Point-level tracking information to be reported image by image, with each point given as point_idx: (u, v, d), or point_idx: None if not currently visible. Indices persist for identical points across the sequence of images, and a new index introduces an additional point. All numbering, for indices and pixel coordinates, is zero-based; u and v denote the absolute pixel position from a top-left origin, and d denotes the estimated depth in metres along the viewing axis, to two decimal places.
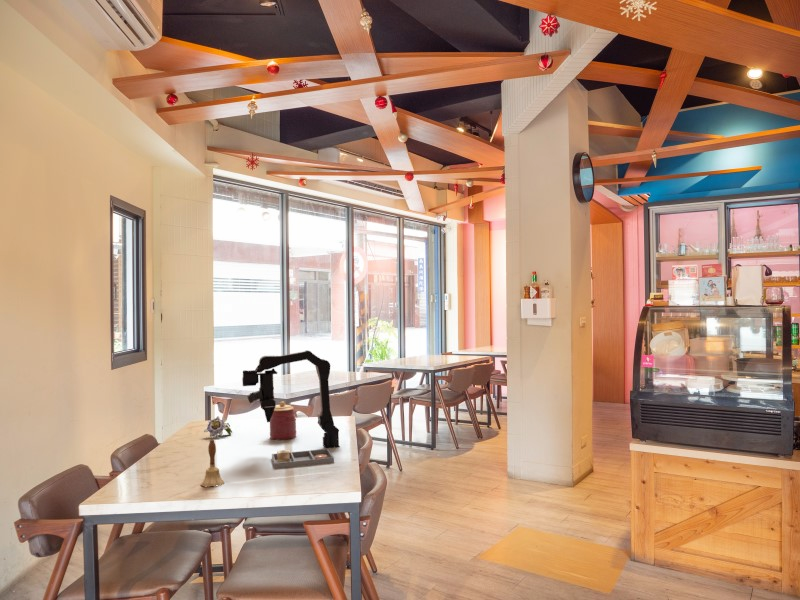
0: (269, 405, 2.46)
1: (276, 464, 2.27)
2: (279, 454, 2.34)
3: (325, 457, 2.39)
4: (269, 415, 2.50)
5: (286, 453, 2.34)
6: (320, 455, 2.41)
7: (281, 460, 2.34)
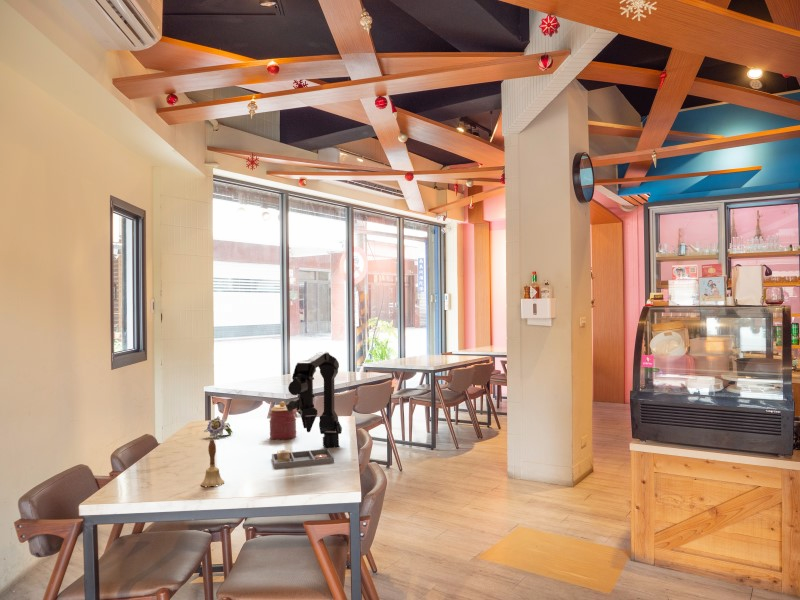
0: (311, 414, 2.30)
1: (276, 464, 2.27)
2: (279, 454, 2.34)
3: (325, 457, 2.39)
4: (310, 425, 2.34)
5: (286, 453, 2.34)
6: (320, 455, 2.41)
7: (281, 460, 2.34)
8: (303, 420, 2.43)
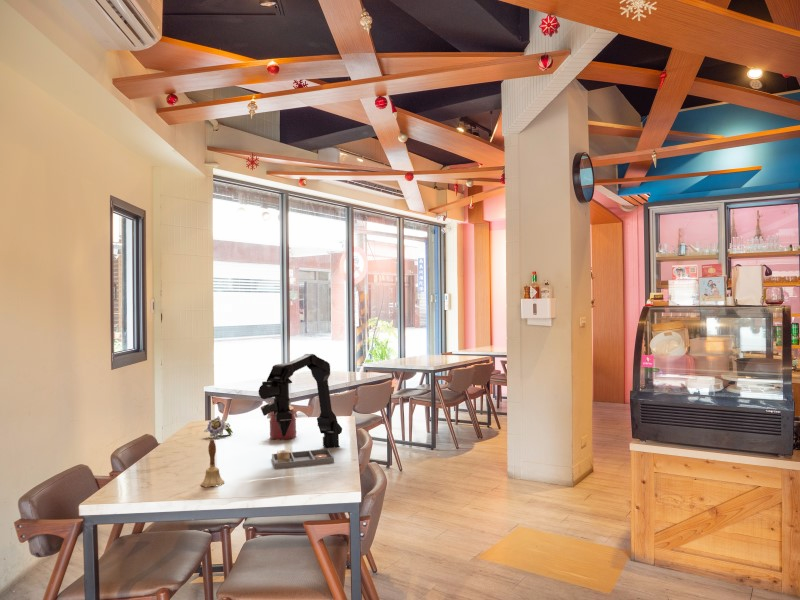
0: (285, 418, 2.28)
1: (276, 464, 2.27)
2: (279, 454, 2.34)
3: (325, 457, 2.39)
4: (285, 429, 2.31)
5: (286, 453, 2.34)
6: (320, 455, 2.41)
7: (281, 460, 2.34)
8: (280, 424, 2.41)
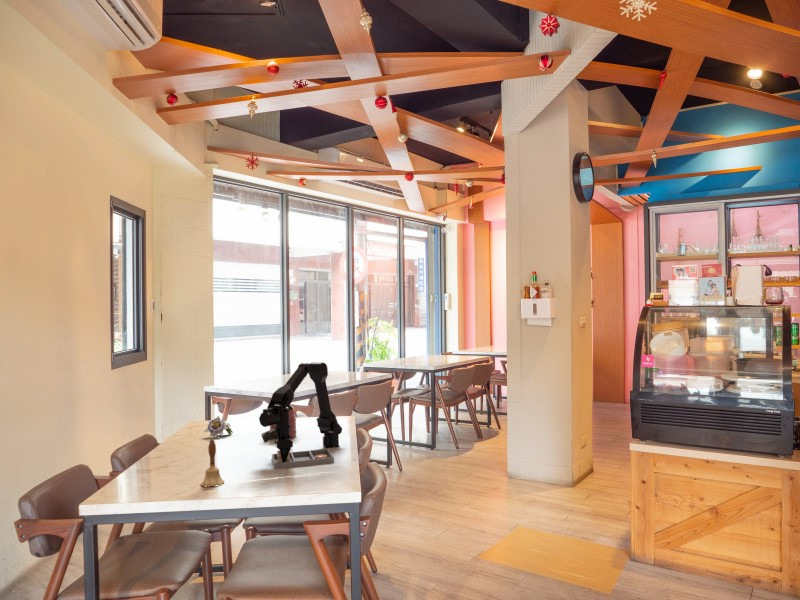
0: (286, 446, 2.27)
1: (276, 464, 2.27)
2: (279, 454, 2.34)
3: (325, 457, 2.39)
4: (285, 455, 2.33)
5: None
6: (320, 455, 2.41)
7: (281, 460, 2.34)
8: None
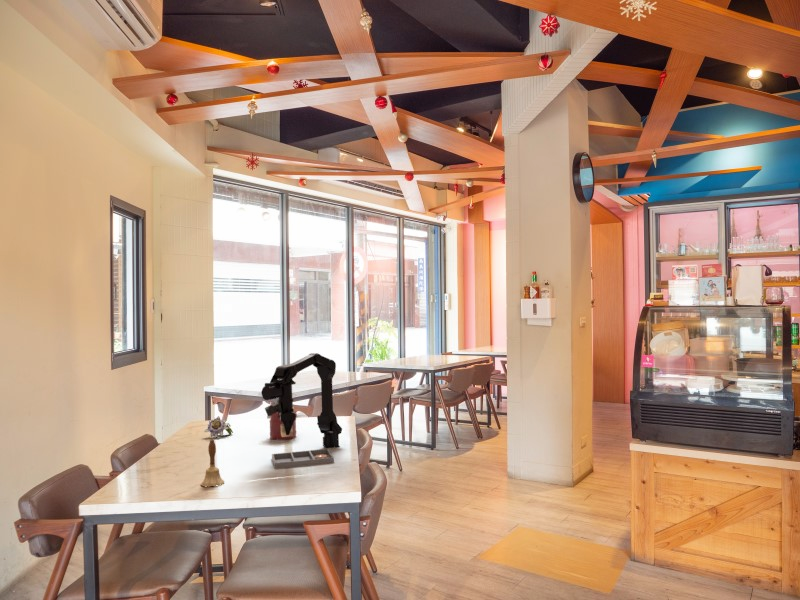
0: (289, 418, 2.33)
1: (276, 464, 2.27)
2: (282, 427, 2.39)
3: (325, 457, 2.39)
4: (288, 428, 2.39)
5: None
6: (320, 455, 2.41)
7: (284, 433, 2.40)
8: None
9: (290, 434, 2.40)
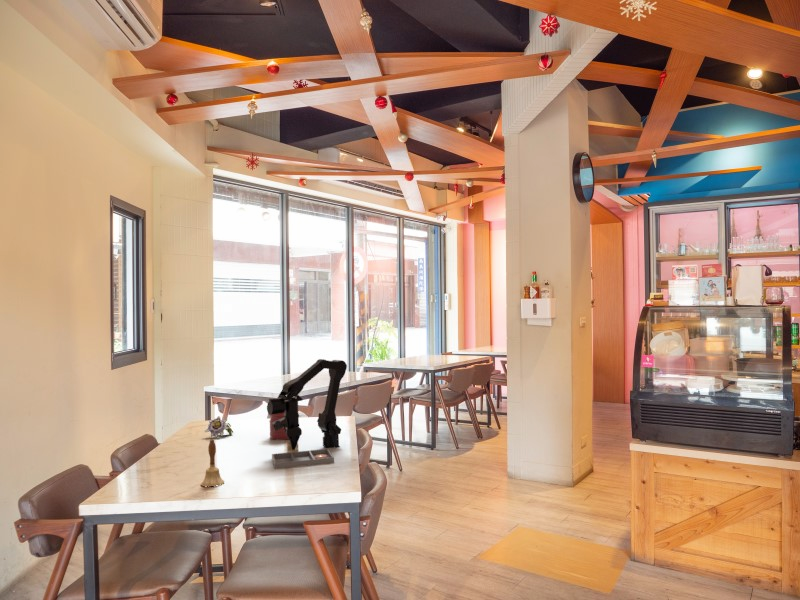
0: (295, 433, 2.43)
1: (276, 464, 2.27)
2: (288, 445, 2.49)
3: (325, 457, 2.39)
4: (294, 443, 2.48)
5: None
6: (320, 455, 2.41)
7: (290, 451, 2.49)
8: (290, 438, 2.55)
9: None
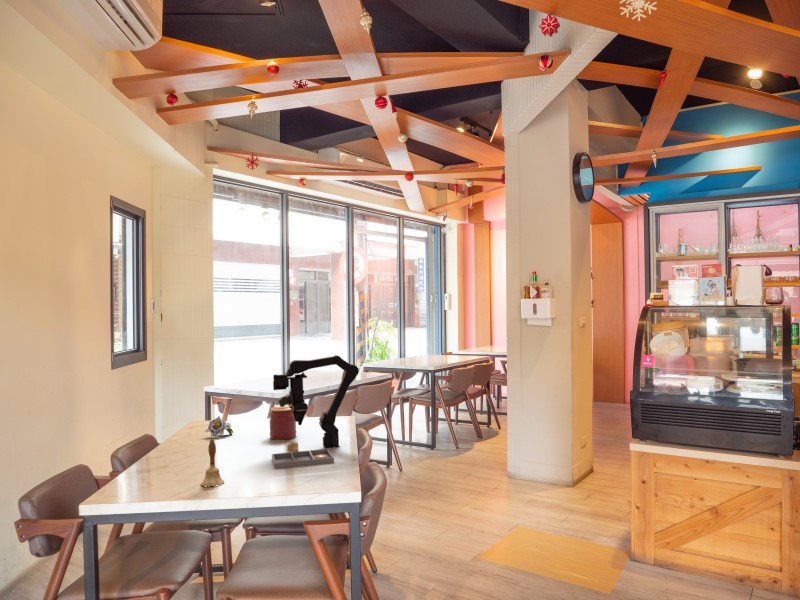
0: (301, 408, 2.51)
1: (276, 464, 2.27)
2: (288, 445, 2.49)
3: (325, 457, 2.39)
4: (301, 418, 2.55)
5: (295, 444, 2.50)
6: (320, 455, 2.41)
7: (290, 451, 2.49)
8: (294, 414, 2.64)
9: None
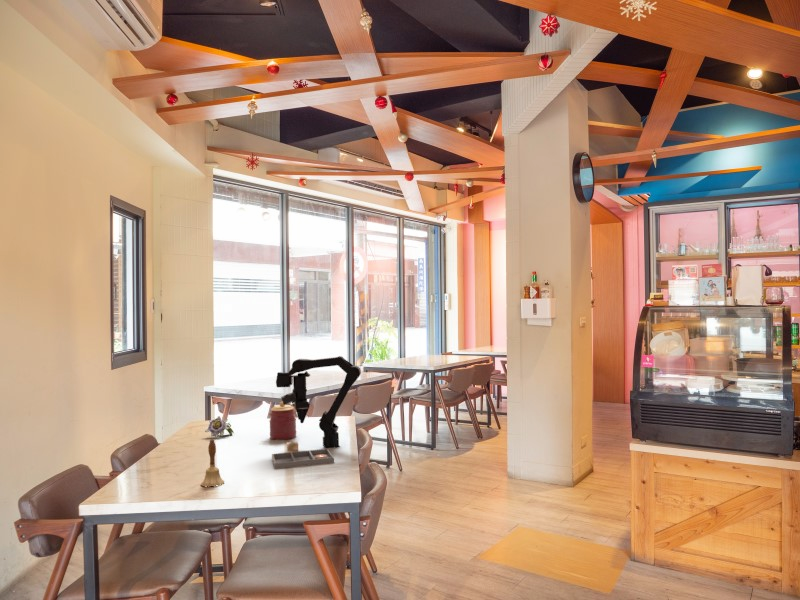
0: (303, 407, 2.55)
1: (276, 464, 2.27)
2: (288, 445, 2.49)
3: (324, 457, 2.39)
4: (303, 416, 2.59)
5: (295, 444, 2.50)
6: (320, 455, 2.41)
7: (290, 451, 2.49)
8: (298, 412, 2.68)
9: None
